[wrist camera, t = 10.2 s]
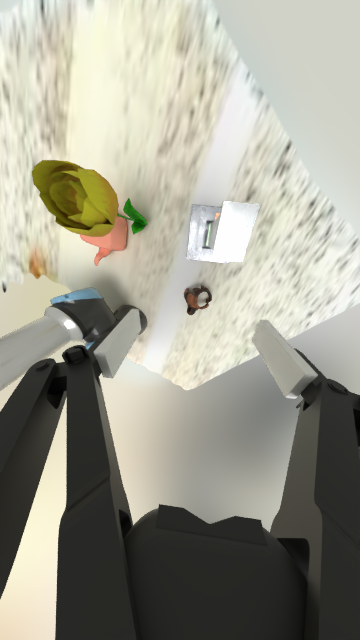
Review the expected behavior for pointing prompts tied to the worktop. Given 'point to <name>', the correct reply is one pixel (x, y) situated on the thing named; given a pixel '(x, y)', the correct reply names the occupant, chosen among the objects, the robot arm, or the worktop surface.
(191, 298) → the pottery mug
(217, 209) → the stand base
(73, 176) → the flower
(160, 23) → the worktop surface
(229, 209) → the column
